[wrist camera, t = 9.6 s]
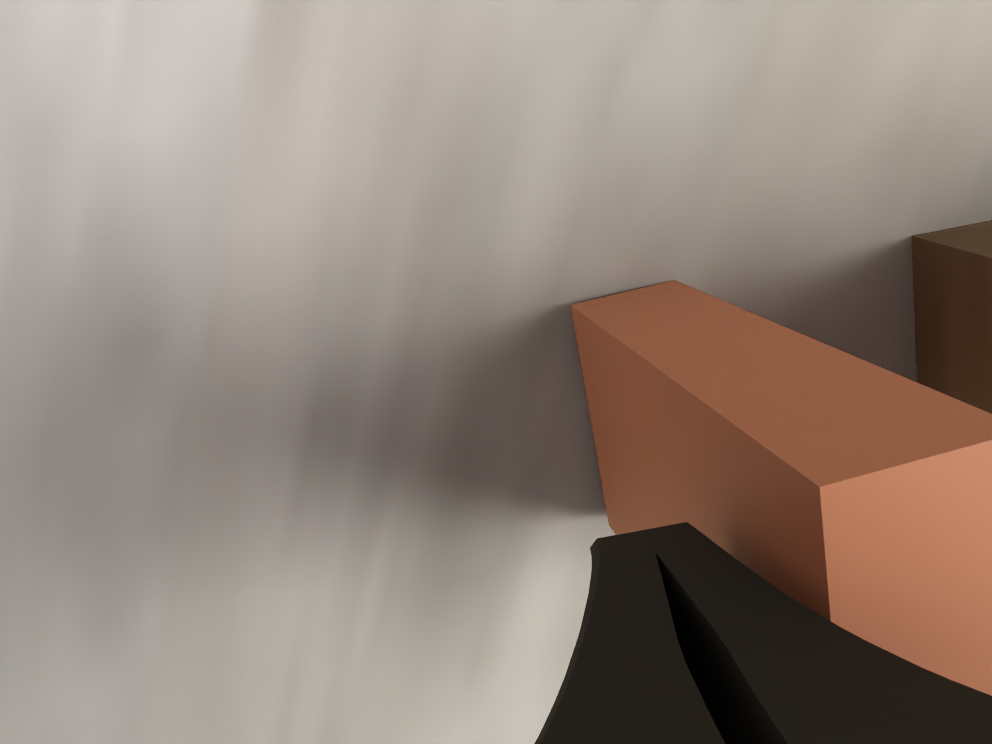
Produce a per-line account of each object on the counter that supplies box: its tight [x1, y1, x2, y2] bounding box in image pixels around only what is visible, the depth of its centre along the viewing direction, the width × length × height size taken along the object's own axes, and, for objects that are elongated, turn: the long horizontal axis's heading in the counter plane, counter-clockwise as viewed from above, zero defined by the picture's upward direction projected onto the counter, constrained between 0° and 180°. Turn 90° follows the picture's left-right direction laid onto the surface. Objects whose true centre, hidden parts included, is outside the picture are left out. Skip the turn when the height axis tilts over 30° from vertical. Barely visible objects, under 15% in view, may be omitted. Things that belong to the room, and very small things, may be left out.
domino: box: [571, 280, 992, 696], centre depth 13 cm, size 2×5×9 cm, turn 11°
